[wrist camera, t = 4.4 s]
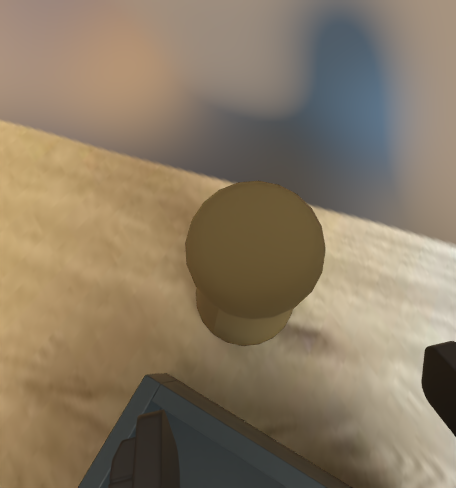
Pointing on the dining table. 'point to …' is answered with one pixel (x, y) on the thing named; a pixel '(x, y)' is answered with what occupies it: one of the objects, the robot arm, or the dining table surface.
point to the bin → (209, 444)
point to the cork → (253, 259)
